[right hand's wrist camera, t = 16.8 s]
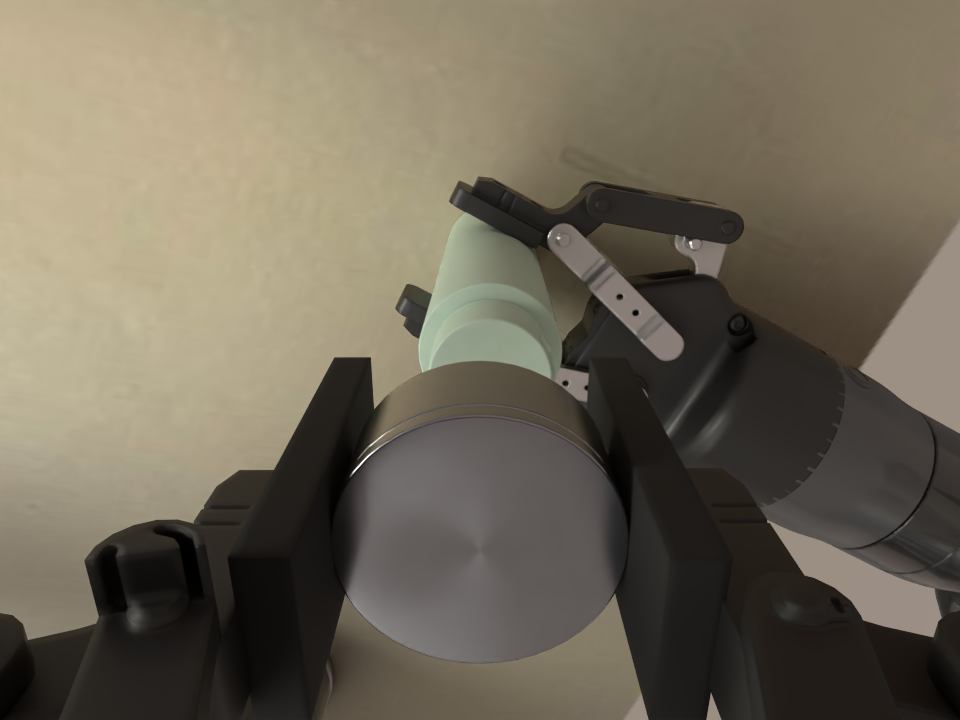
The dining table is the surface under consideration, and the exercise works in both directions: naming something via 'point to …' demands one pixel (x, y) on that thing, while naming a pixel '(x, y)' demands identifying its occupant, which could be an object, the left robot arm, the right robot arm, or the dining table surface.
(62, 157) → the dining table surface
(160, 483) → the dining table surface
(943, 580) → the left robot arm
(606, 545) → the lid
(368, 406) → the right robot arm
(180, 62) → the dining table surface
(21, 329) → the dining table surface
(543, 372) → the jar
